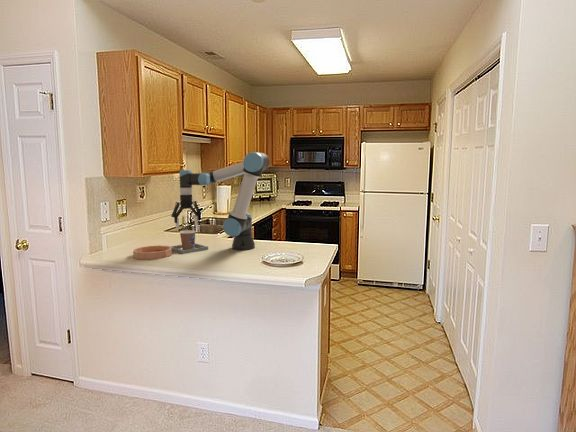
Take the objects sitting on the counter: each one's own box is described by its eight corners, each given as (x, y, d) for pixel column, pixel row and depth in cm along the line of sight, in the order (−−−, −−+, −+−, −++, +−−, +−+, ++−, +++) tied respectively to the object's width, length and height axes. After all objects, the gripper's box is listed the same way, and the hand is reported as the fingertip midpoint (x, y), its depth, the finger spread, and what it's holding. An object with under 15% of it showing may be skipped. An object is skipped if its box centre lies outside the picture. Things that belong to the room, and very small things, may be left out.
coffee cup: (192, 251, 253) (191, 233, 251) (177, 251, 255) (176, 232, 253) (199, 248, 263) (198, 230, 261) (184, 247, 265) (183, 230, 263)
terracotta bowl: (178, 255, 242) (177, 249, 242) (143, 261, 227) (142, 254, 227) (162, 250, 258) (161, 244, 258) (128, 255, 243) (127, 249, 243)
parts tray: (208, 249, 258) (208, 246, 258) (182, 254, 246) (182, 250, 246) (193, 245, 272) (193, 242, 271) (168, 249, 259) (168, 246, 259)
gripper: (200, 192, 265) (200, 224, 268) (165, 194, 249) (166, 228, 251) (206, 193, 260) (206, 225, 263) (170, 195, 243) (171, 229, 246)
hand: (187, 226), depth 257 cm, fingers open, 13 cm apart
